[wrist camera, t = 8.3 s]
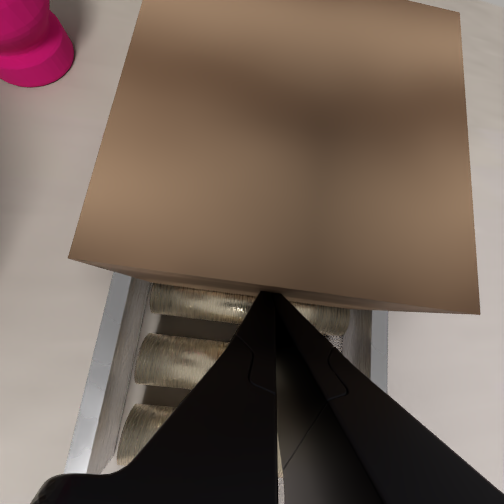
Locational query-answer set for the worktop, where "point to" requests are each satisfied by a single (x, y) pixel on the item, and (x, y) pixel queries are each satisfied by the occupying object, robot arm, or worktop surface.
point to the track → (184, 361)
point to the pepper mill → (32, 44)
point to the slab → (290, 155)
